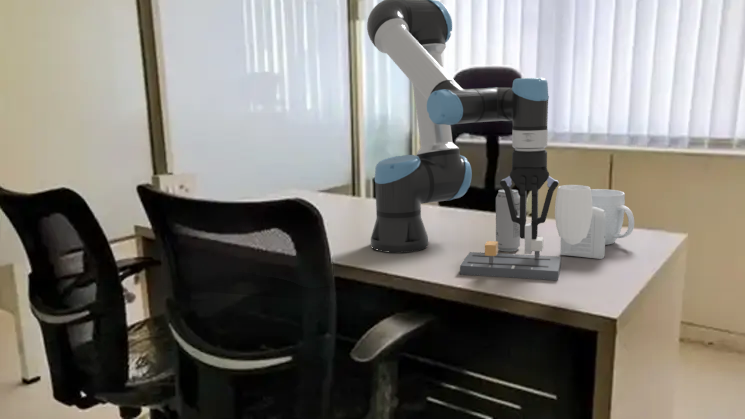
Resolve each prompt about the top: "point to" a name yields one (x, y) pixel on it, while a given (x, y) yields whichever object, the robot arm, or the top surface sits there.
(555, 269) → the console
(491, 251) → the fader orange
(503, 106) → the robot arm
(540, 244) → the fader white
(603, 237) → the photo printer
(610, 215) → the mug
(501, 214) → the energy drink can
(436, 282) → the top surface
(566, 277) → the top surface
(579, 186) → the cup
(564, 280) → the top surface
